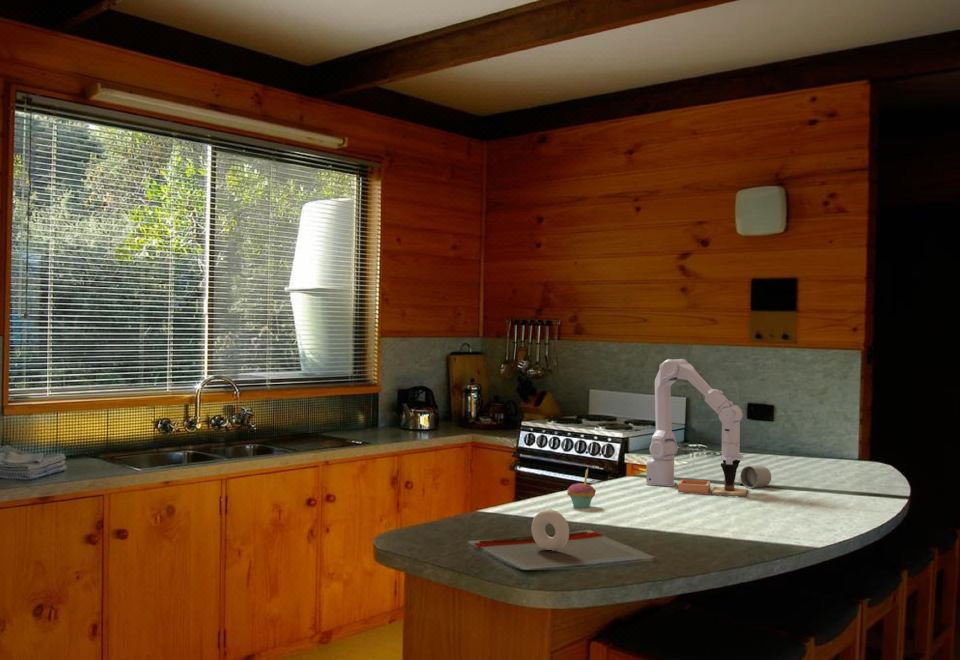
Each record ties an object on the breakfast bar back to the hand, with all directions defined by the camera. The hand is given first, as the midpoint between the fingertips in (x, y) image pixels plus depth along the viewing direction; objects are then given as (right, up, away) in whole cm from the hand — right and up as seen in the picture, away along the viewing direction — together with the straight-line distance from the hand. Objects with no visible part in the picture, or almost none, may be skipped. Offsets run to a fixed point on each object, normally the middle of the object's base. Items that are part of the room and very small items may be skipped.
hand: (730, 483), depth 291 cm
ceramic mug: (+11, -4, +13) cm, 18 cm away
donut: (-66, -3, -80) cm, 104 cm away
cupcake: (-52, -3, -25) cm, 58 cm away
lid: (0, -3, 0) cm, 3 cm away
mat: (0, -3, 0) cm, 3 cm away
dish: (-11, -3, +3) cm, 12 cm away
